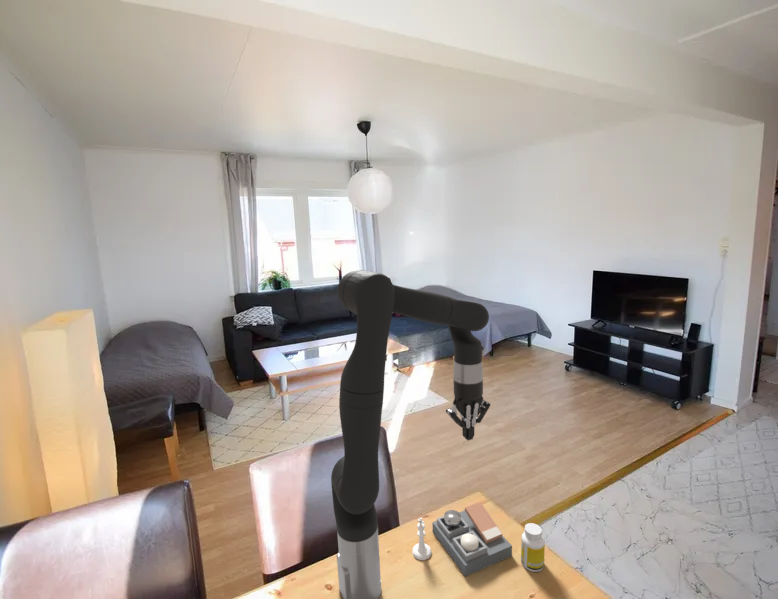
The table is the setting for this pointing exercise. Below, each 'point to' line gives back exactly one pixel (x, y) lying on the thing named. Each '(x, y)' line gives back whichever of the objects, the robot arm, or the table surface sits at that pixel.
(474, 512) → the rocker
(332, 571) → the table surface
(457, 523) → the metal button
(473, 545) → the white button
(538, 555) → the supplement bottle
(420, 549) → the chess piece
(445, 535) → the panel
